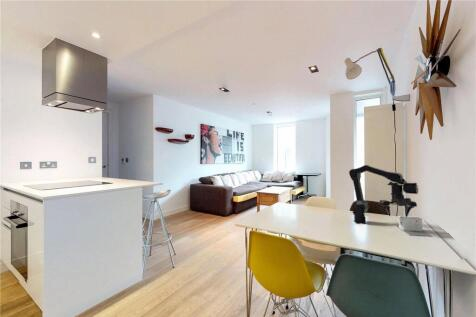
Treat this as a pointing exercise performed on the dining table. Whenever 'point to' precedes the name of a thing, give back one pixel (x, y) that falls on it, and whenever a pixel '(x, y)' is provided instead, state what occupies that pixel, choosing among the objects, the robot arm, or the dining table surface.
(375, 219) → the dining table surface
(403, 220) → the small box
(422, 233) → the mat
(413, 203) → the robot arm
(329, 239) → the dining table surface
